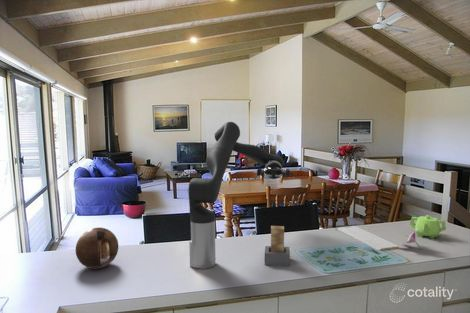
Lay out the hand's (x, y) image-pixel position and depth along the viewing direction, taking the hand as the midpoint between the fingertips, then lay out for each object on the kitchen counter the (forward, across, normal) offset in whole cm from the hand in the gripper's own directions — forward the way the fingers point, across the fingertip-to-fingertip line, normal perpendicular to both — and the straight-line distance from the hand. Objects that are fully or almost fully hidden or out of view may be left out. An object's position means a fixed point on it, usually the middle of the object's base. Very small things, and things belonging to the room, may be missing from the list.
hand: (273, 174), depth 150 cm
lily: (-7, +58, +32) cm, 67 cm away
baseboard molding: (-18, +42, +33) cm, 56 cm away
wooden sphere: (+27, -65, +32) cm, 77 cm away
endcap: (+14, +2, +32) cm, 35 cm away
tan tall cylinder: (+14, +2, +31) cm, 34 cm away
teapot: (-25, +72, +32) cm, 83 cm away
